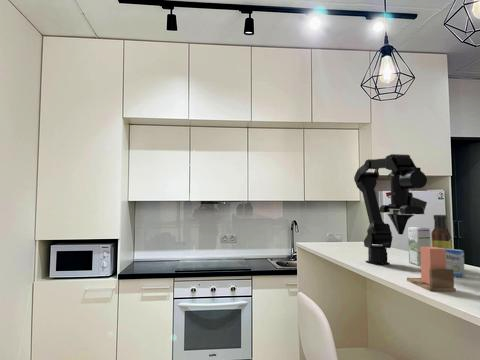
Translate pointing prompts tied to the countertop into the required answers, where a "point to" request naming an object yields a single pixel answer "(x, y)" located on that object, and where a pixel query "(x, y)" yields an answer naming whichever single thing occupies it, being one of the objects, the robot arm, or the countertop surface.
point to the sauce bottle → (441, 233)
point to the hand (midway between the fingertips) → (400, 234)
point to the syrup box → (417, 243)
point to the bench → (437, 280)
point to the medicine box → (455, 261)
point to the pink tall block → (431, 261)
